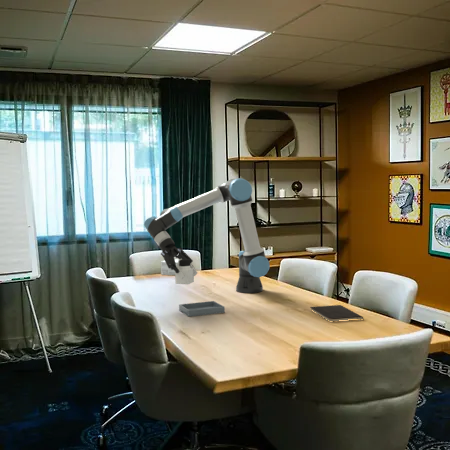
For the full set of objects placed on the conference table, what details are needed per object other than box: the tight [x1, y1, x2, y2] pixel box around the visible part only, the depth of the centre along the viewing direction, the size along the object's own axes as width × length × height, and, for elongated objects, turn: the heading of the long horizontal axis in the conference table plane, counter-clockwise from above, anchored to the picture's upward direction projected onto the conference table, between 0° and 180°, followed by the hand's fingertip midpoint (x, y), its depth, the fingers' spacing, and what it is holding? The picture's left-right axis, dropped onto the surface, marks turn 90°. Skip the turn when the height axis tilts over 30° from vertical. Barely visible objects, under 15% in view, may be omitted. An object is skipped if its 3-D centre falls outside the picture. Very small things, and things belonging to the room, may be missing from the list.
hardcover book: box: [309, 304, 364, 321], centre depth 239 cm, size 16×23×2 cm
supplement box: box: [160, 258, 179, 276], centre depth 361 cm, size 17×13×9 cm
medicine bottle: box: [174, 259, 195, 285], centre depth 259 cm, size 7×7×12 cm
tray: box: [178, 300, 226, 317], centre depth 250 cm, size 18×14×3 cm
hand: (189, 275), depth 257 cm, fingers closed on medicine bottle, 9 cm apart
